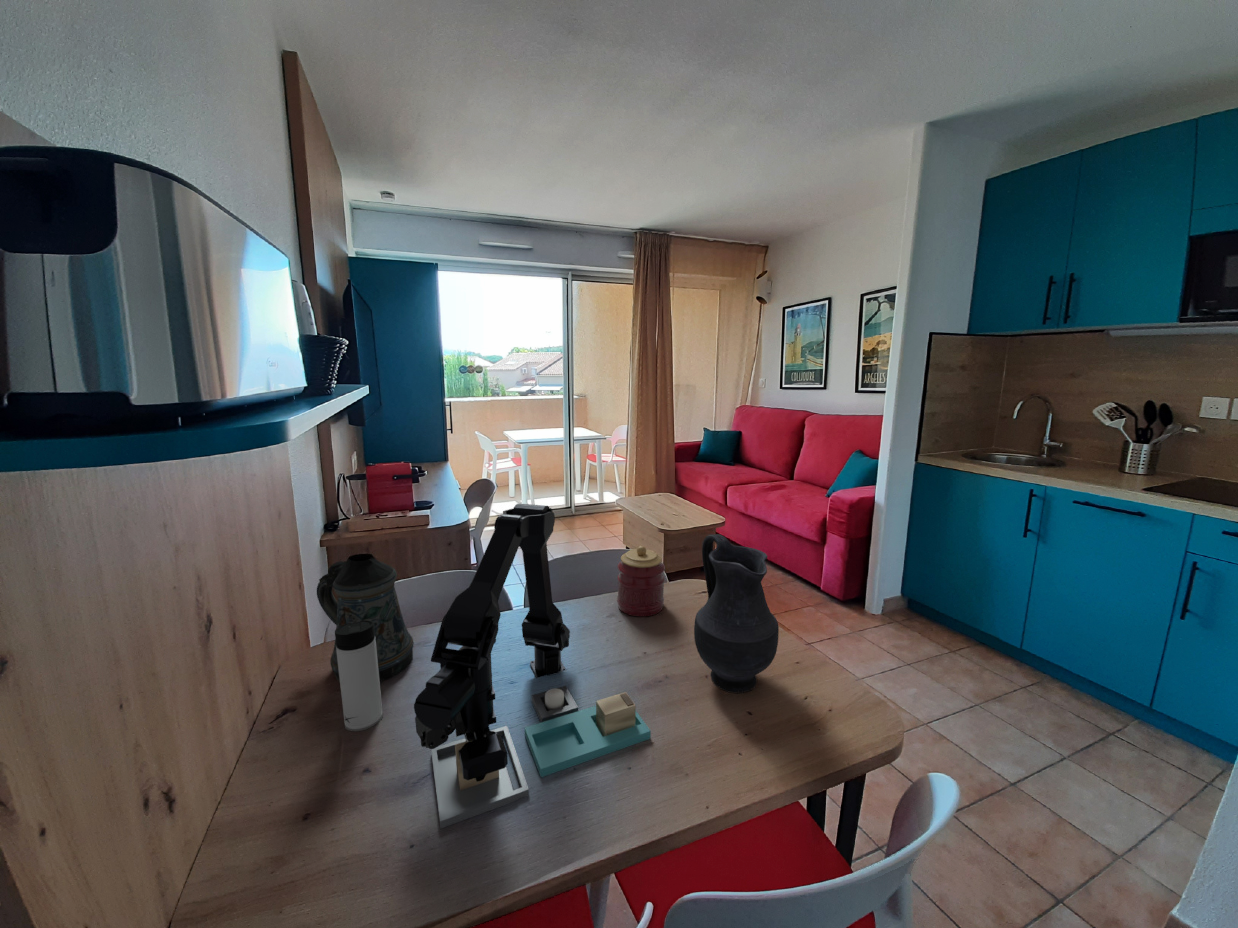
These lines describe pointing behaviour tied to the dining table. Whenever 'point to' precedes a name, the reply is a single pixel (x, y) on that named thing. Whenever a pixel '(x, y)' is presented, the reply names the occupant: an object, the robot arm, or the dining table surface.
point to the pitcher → (735, 616)
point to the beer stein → (368, 609)
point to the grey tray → (476, 798)
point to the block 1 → (469, 783)
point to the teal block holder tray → (577, 740)
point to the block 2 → (615, 714)
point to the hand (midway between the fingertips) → (477, 769)
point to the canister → (640, 582)
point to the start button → (554, 699)
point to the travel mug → (359, 675)
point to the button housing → (545, 716)
